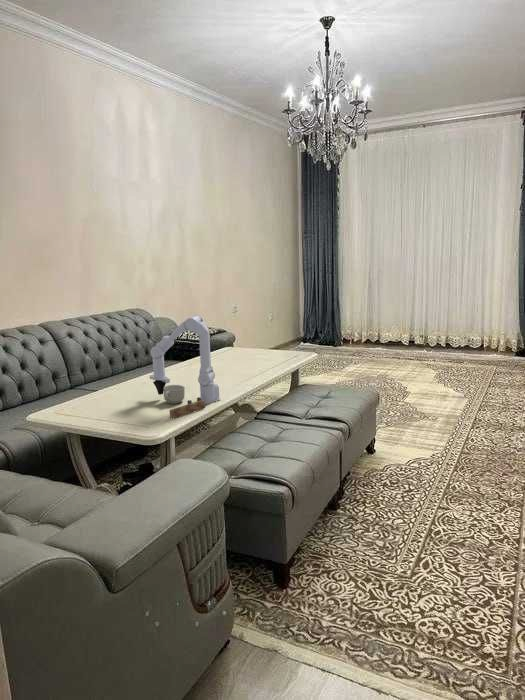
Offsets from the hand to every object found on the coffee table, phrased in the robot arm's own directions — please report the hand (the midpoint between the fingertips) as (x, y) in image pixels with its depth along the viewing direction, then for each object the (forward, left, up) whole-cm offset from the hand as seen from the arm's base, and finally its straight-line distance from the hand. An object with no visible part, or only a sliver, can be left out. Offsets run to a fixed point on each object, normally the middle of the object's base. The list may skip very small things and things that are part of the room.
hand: (160, 394), depth 281 cm
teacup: (0, +10, -3) cm, 10 cm away
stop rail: (+6, +29, -3) cm, 30 cm away
